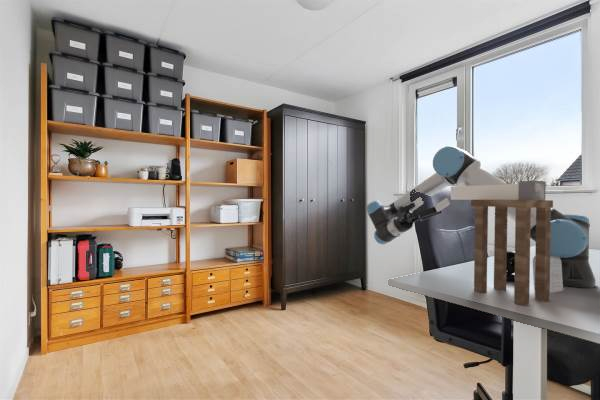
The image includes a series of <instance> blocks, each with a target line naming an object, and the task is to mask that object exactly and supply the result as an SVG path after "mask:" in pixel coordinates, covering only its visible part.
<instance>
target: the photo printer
mask: <svg viewBox="0 0 600 400" xmlns="http://www.w3.org/2000/svg"><path fill="white" fill-rule="evenodd" d="M532 271H533V272H532V275H533V290H534V291H535V256H534V257H533V258H532ZM561 291H564V285H563V280H562V264H561V259H560V258H559V257H555V256H552V255H550V294H553V293H559V292H561Z"/></svg>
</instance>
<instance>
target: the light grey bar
mask: <svg viewBox="0 0 600 400" xmlns="http://www.w3.org/2000/svg"><path fill="white" fill-rule="evenodd" d="M450 200H452V201H453V200H454V201H455V200H458V201H460V200H461V201H468V200H469V201H471V200H546V181H544V180H519V181H518V183H506V184H502V185H480V186H464V185H463V186H457V185H454V186H450Z"/></svg>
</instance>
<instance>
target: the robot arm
mask: <svg viewBox="0 0 600 400" xmlns="http://www.w3.org/2000/svg"><path fill="white" fill-rule="evenodd" d="M432 168H433V170H434V171H435V173H434V174H432V175H431V176H430V177H427V178H426V179H425V180H423V181H422V182H420V183H419V184H417V185H416V186H415V187H414V188H412V189H410V190H409V191H408V192H406V193H405V194H404V195H402V196H400V197H398V198H397V199H396V200H394V201H393V202H392V203H390V204H389V205H383V204H382V202H381V200H378V199H377V200H373V201H371V202H370V203H368V204H367V205H366V206H365V209H366V212H367V215H368V217H369V218H370V220H371V222H372V225H373V226H374V228H375V231H374V233H373V235H374V236H373V237H374V240H375V241H376V242H377V243H378V244H380V245H386V244H388V243H390V242H392V241H393V240H395V239H396V238H398V237H401V235H402V234H404V233H406V232H407V231H409V230H411V229H412V228H413V226H414V223H417V221H418V222H419V223H422V222H424V221H425V220H428V219H430V218H432V217H436V216H437V215H440V214H442V213H443V212H442V210H444V209H445V208H447V207H448V206H450V205H451V202H450V200H449V198H448V197H445V198H444V199H443V200H441V201H439V202H438V203H436V204H435V205H434V206H433V207H429V208H427V209H424V210H422V211H420V210H418V211H415V210H417V209H418V208H419V207H421V206H422V205H424V201H422V198H421V197H419V198H417V199H416V200H415V201H413V202H411V201H410V197H411V196H410V192H411V191H412V190H413V189H415V188H418V190H417V189H415V191H416V192H420V193H423V194H425V195H428V196H431V197H433V196H435V195H436V194H438V193H439V192H441V191H442V190H444V189H446V188H447V187H448V186H480V185H502V184H507V183H506V182H504V181H503V180H501V179H500V178H498V177H497V176H496V175H494V174H492V173H491V172H489V171H487V170H486V169H485V168H483V167H482V166H481V161H480V160H479V159H477V158H475V157H474V155H473V154H472V153H471V152H469V151H467V150H465V149H462V148H460V147H458V146H454V145H449V146H448V145H447V146H444V147H441V148H440V149H439V150H438V151H437V152H436V153H435V154H434V155H433V159H432ZM413 192H414V191H413ZM416 192H415V193H416ZM412 194H413V193H412ZM507 218H509V219H511V220H513V221H514V222H515V218H516V207H508V212H507ZM590 227H591V223H590V219H589V218H588V217H587V216H585V215H578V214H566V213H564V214H563V213H562V212H560V211H558V209H556V208H554V207H553V208H551V238H550V255H552V256H555V257H559V258H560V259H561V264H562V280H563V287H564V286H566V287H573V288H596V283H597V282H596V281H597V280H596V277H595V275H594V272H593V270H592V267H591V265H590V261H589V258H590ZM530 240H532V241H533V242H535V243H536V208H531V222H530Z"/></svg>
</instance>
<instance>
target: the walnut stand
mask: <svg viewBox="0 0 600 400" xmlns="http://www.w3.org/2000/svg"><path fill="white" fill-rule="evenodd" d="M470 207H474V209H475V211H474V212H475V213H474V215H475V216H474V257H473V258H474V261H473V262H474V267H473V268H474V270H473V271H474V274H473V291H474V292H477V293H480V294H483V293H487V292H488V239H489V238H488V234H489V233H488V232H489V230H488V229H489V226H488V225H489V207H491V208H493V207H494V244H493V245H494V248H493V251H494V252H493V253H494V255H493V257H494V258H493V289H496V290H500V291H505V290H507V281H506V275H507V272H508V271H507V252H508V216H507V212H508V207H516V218H515V221H514V222H515V225H514V226H515V228H514V230H515V232H514V233H515V234H514V253H515V273H514V275H515V281H514V282H513V283H514V291H513V293H514V295H513V303H514V304H517V305H519V306H522V307H524V306H529V305H530V283H531V282H530V280H531V279H530V278H531V275H530V274H531V269H530V268H531V238H530V222H531V208H536V242H535V290H534V300H536V301H539V302H542V303H543V302H544V303H545V302H550V298H551V297H550V294H551V293H550V238H551V208H554V200H552V199H551V200H547V199H545V200H470Z"/></svg>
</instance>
